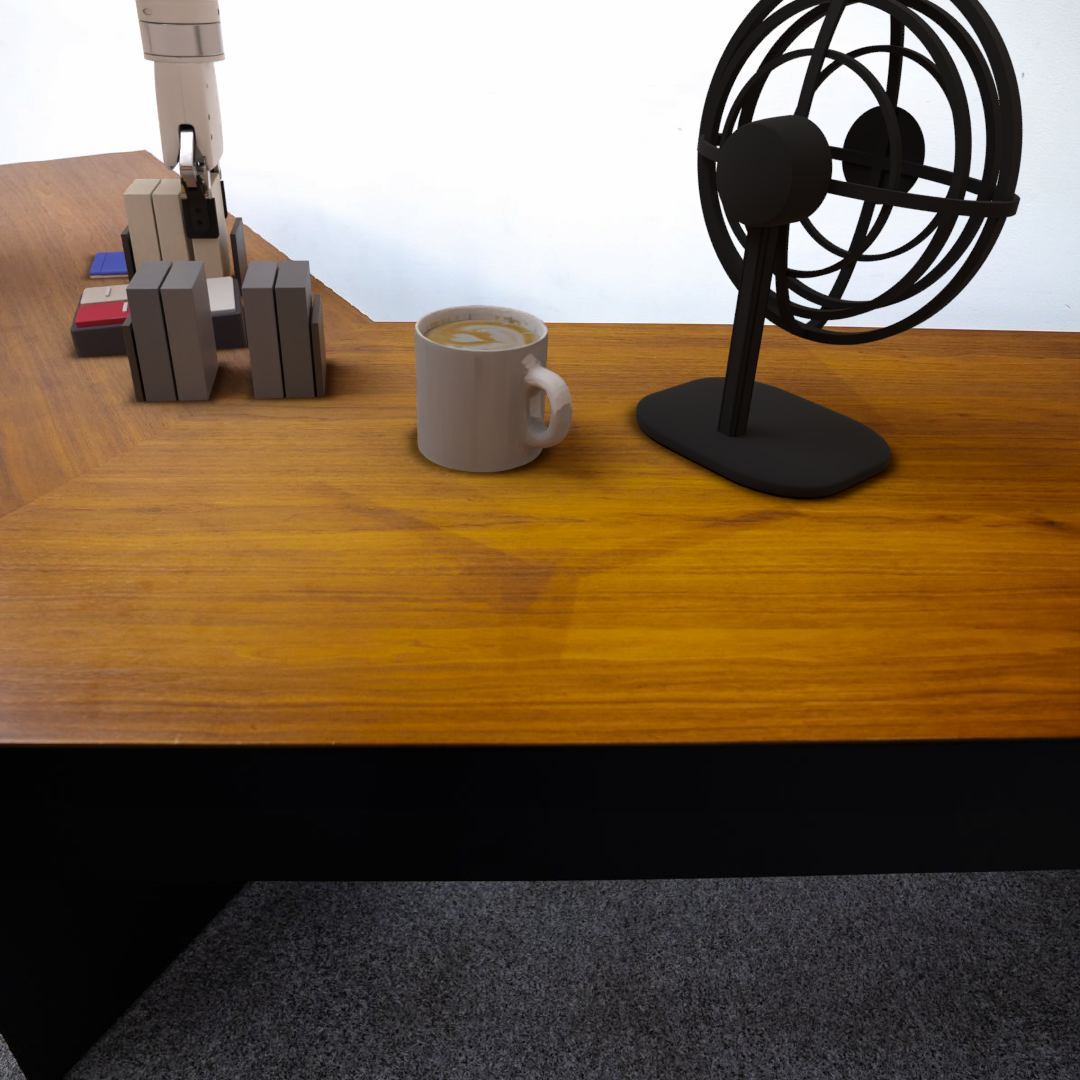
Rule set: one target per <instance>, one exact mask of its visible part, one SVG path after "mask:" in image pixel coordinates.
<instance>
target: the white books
mask: <svg viewBox="0 0 1080 1080" xmlns="http://www.w3.org/2000/svg"><path fill="white" fill-rule="evenodd" d="M181 198H182V195H181V183H180V178H163V179H161V178H135V179H134V180H133V181H132V182H131V184H130V185H129V186H128V187H127V189H126V190H124V192H123V193H122V199H123V204H124V209H125V210H124V211H125V214H126V220H127V225H126V226H125V228H124V229H123V231H122V232H121V233H120V239H121V245H122V250H123V252H124V256H125V261H126V267H127V272H128V277H127V278H128V282H129V283H130V281H131V280H132V278H133V277H134V275H135V273H136V272H137V270H138V269H139V267H140V265H141V264H142V262H143V261H172V263H173V264H174V262H175V261H195V255H194V248H193V241H192V239H190V238H188V237H187V234H186V227H185V221H184V214H183V207H182V201H181ZM229 239H230V241H229V242H230V249H231V256H232V257H231V258H232V264H233V273H234V279H237V280H238V284H239V290H240V295H241V297H242V285H243V282H244V279H245V276H246V272H247V269H248V266H249V263H248V257H247V248H246V239H245V230H244V222H243V217H240V216H239V217H238V216H237V217H236V218H235V221H234V222H233V225H232V228H231V230H230V233H229ZM129 283H128V284H129Z"/></svg>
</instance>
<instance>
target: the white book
mask: <svg viewBox="0 0 1080 1080" xmlns="http://www.w3.org/2000/svg"><path fill="white" fill-rule="evenodd" d="M200 176H201V178H203V175H200ZM220 181H221V180H220V176H219V173H210V182H211V198H215V203H216V211H217V218H218V226H219V237H218V238H217V239H192V241H193V248H194V255H195V261H204V265H205V273H206V279H209V278H220V277H232V276H233V270H232V262H231V255H230V247H229V239H228V232H227V224H226V219H225V215H224V207H223V199H222V191H221V184H220ZM202 182H203V181H202ZM203 185H204V183H203Z"/></svg>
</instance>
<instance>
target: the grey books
mask: <svg viewBox="0 0 1080 1080" xmlns="http://www.w3.org/2000/svg"><path fill="white" fill-rule="evenodd" d="M310 266H311V265H310V260H280V263H279V260H249V263H248V269H247V272H246V276H245V279H244V282H243V285H242V296H241V298H242V306H243V313H244V322H245V331H246V339H247V346H248V354H249V361H250V370H251V371H250V372H251V379H252V386H253V394H254V399H255V400H261V399H264V400H265V399H284V398H286V399H299V398H300V399H302V398H303V399H304V398H306V399H307V398H325V394H326V393H325V392H326V380H327V379H326V377H327V353H326V339H325V329H324V313H323V302H322V294H321V293H314V294H313V290H312V281H311V280H312V279H311V270H310V268H311V267H310ZM128 284H129V285H128V286H127V288H126V293H127V299H128V304H129V309H130V313H129V315H128V316H127V318H126V320H125V322H124V323H123V325H122V328H123V334H124V339H125V344H126V349H127V354H126V355H127V360H128V364H129V370H130V374H131V380H132V385H133V386H132V387H133V390H134V397H135V402H137V403H139V402H141V403H142V402H145V401H146V402H176V401H177V400H178V401H181V402H183V401H184V402H185V401H208V400H210V396H211V393H212V389H213V386H214V383H215V380H216V376H217V373H218V369H219V367H220V366H219V360H218V353H217V349H216V344H215V337H214V330H213V323H212V315H211V308H210V301H209V294H208V287H207V280H206V273H205V265H204V261H175V262H174V264H173V263H172V261H143V262H142V264H141V265H140V267H139V269H138V270H137V272H136V273H135V275H134V277H133V278H132V280H131V281H130V283H128Z"/></svg>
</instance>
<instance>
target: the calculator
mask: <svg viewBox="0 0 1080 1080" xmlns="http://www.w3.org/2000/svg"><path fill="white" fill-rule="evenodd" d="M206 280H207V287H208V294H209V301H210V308H211V315H212V323H213V330H214V337H215V344H216V350H220V349H221V350H223V349H236V348H237V349H238V348H246V347H247V346H248V339H247V330H246V321H245V313H244V305H243V300H242V296H241V295H240V290H239V284H238V280H237V279H235V277H234V278H233V276H231V277H220V278H209V279H206ZM128 285H129V283H126V284H125V283H124V284H115V285H106V286H105V285H103V286H94V287H86V288H84V289H83V293H81V294H80V297H79V300H78V302H77V306H76V310H75V313H74V316H73V319H72V323H71V325H70V330H69V331H70V336H71V340H72V342H73V345H74V349H75V353H76V357H78V358H91V357H105V356H106V357H107V356H124V355H128V354H127V349H126V344H125V339H124V334H123V328H122V325H123V323H124V322H125V320H126V318H127V316H128V315H129V313H130V309H129V304H128V299H127V293H126V288H127V286H128Z"/></svg>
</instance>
